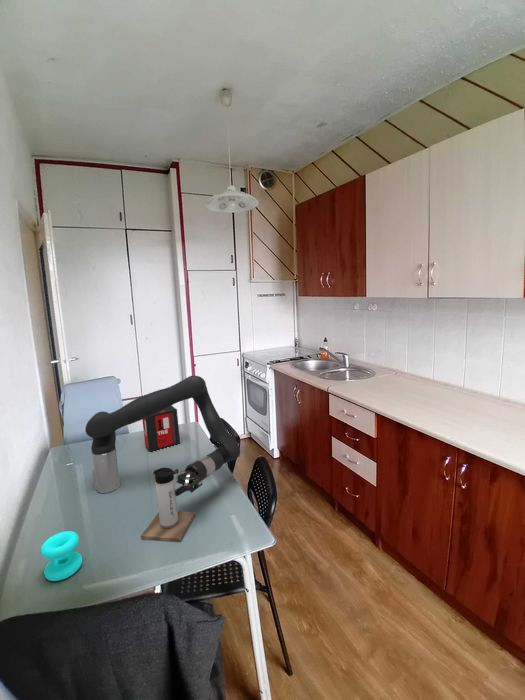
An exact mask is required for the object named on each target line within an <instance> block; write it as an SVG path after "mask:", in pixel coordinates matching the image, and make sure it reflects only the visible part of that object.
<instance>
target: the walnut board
mask: <svg viewBox="0 0 525 700" xmlns="http://www.w3.org/2000/svg"><path fill="white" fill-rule="evenodd" d="M177 512H178V523H177V525H175V526H174V527H172V528H168V529H165V528H162V527H161V526H160V519H159V511H158V512H157V513H156V515H155V516H154V517H153V518H152V520H151V522H150V523H149V524H148V525H147V527H146V528H145V530H144V531H143V532H142V534H141V535H140V539H141V540H143V541H144V540H147V541H160V542H170V543H171V542H173V543H181V542H182V541H183V539H184V537H185V535H186V533H187V532H188V530H189V528H190V527H191V525H192V523H193V521H194V519H195V518H196V516H197V515H196V512H191V511H190V512H189V511H178V510H177Z"/></svg>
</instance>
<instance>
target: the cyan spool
mask: <svg viewBox="0 0 525 700" xmlns="http://www.w3.org/2000/svg"><path fill="white" fill-rule="evenodd" d="M79 542H80V537H79V534H78V533H76V532H75V531H71V530H66V531H61V532H58V533H55V534H54V535H52V536H50V537H48V539H46V540H45V542H43V544H42V545H41V548H40V555H41V557H42V558H44V559H45V560H49V561H48V563H47V564H46V566H45V568H44V572H43V575H44V577H45V578H46V579H47V580H48V581H50V582H51V581H53V582H57V581H63V580H65V579H68V578H69V577H71V576H73V575H74V574H75V573H77V571H78V570H79V569H80V568H81V566H82V563H83V556H82V555H81V554H80V552H78V551H76V550H75V549H76V548H77V546H78V545H79ZM74 550H75V551H74Z"/></svg>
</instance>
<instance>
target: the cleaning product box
mask: <svg viewBox="0 0 525 700" xmlns="http://www.w3.org/2000/svg"><path fill="white" fill-rule="evenodd" d="M141 421H142V427H143V436H144V437H143V438H144V445H145V446H146V447H145V446H144V447H145V448H146V450H147V449H148V450H147V452H151V453H154V452H153V451H155V452H158V451H157V450H159V451H161V450H160V449H162V450H165V449H164V448H166V449H168V448H167V447H169V448H172V447H171V446H173V447H175V446H174V445H177V446H179V445H178V444H180V445H181V441H180V439H181V438H180V429H179V427H180V426H179V416H178V409H177V408H176V407H174V406H173V405H171V406H170V407H168V408H167V409H165V410H163V411H161V412H159V413H157V414H155V415H153V416H150V417H148V418H145V419H142V420H141Z"/></svg>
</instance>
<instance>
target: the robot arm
mask: <svg viewBox="0 0 525 700" xmlns="http://www.w3.org/2000/svg"><path fill="white" fill-rule="evenodd" d="M189 399H192V400H193V401H194V402H195V404H196V406H197V407H198V409H199V411H200V414H201V417H202V420H203V423H204V425H205V427H206V430H207V432H208V434H209V436H210V438H211V440H212V441H213V442H214V443H220V444H221V446H219V447H218V448H216V449H215V450H213V451H212V452H210V453H209V454H207V455H205V456H203V457H200V458H198V459H196V460H194V461H193V462H192V463H190V464H188V465H187V466H185V469H184V470H183V471H179V469H178V468H176V469H174V470H173V474H174V482H175V485H181V486H179V487H177V488H175V495H176V497H179V496H180V495H182V494H184V493H186V492H187V493H188V492H189V493H193V492H195V491H196V490H197V489H199V488H200V487H201V486H203V480H206V479H207V478H208V477H209V476H211V475H212V474H213V473H215V472H216V471H218V470H219V469H221V468H222V466H223V465H224V464H226V463H228V462H231V461H234V460H237V459H238V458H239V457H240V455H241V447H240V445H239V444H238V442H237V441H236V440H235V438H234V437H233V436H232V435H231V434H230V433H229V432H228V431H227V428H226V427H225V424H224V422H223V420H222V418H221V417H220V415H219V413H218V411H217V410H216V408H215V405H214V404H213V401H212V399H211V396H210V394H209V390H208V387H207V383H206V381H205V379H204V378H203V377H201V376H199V375H194V374H193V375H190V376H188V377H186V378H184V379H183V380H181V381H179V382H177V383H175V384H172V385H171V386H168V387H166V388H162V389H157V390H155V391H152V392H149V393H147V394H144V395H142V396H139V397H137V398H135V399H133V400H131V401H130V402H128V403H127V404H124V406H122V407H119V409H117V410H114V411H113V412H110V413H109V412H107V411H98V412H96V413H94V415H93V416H91V418H89V420H87V422H86V425H85V433H86V435H87V436H88V437H90V438H91V439H92V443H91V447H90V448H91V455H92V463H93V468H92V470H91V471H92V479H93V484H94V491H95V490H97V491H96V492H98V493H99V492H100V494H109V493H111V492H115V491H116V490H118V489H119V488H120V486H121V480H120V471H119V465H118V464H119V463H118V458H117V450H116V441H117V439H116V438H117V437H116V435H117V434H116V432H117V430H119V429H121V428H124V427H126V426H129V425H132V424H134V423H137V422H139V421H143V420H142V419H145V418H148V417H150V416H153V415H155V414H157V413H159V412H161V411H163V410H165V409H167V408H168V407H170V406H173V405H175V404H177V403H180V402H183V401H186V400H189ZM176 479H177V480H176Z"/></svg>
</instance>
